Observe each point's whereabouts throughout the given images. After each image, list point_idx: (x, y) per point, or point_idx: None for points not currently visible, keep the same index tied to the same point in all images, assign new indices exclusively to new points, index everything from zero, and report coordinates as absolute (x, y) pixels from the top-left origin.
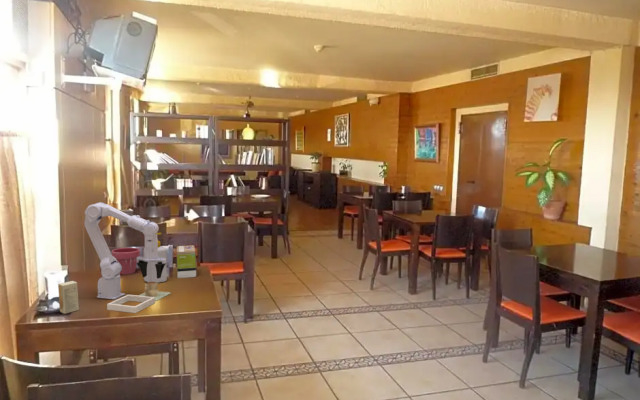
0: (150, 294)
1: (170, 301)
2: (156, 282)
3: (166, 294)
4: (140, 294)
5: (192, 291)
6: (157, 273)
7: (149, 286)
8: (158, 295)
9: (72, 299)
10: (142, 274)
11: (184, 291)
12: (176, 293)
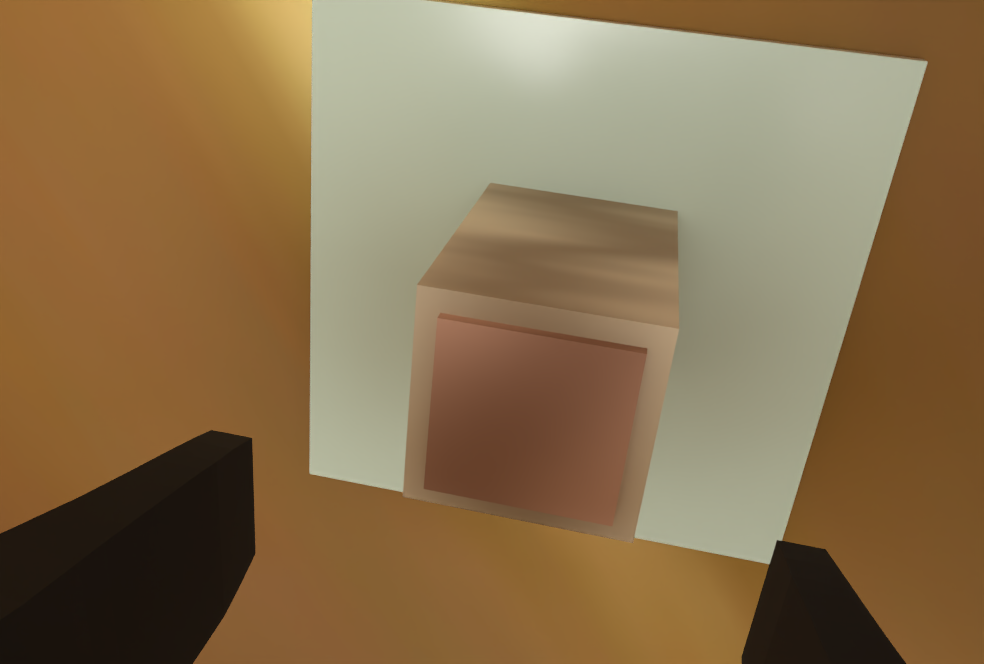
0: (536, 207)
1: (54, 36)
2: (418, 476)
3: (325, 376)
4: (840, 319)
5: None
6: (96, 508)
7: (530, 278)
8: None
9: None
10: (841, 598)
11: None
12: None
